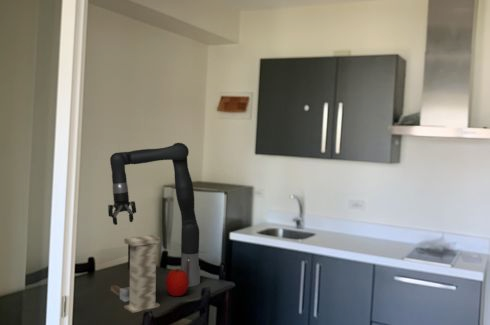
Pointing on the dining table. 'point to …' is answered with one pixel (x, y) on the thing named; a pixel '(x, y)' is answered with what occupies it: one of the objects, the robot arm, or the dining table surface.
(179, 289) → the tomato
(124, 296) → the mallet
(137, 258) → the birch plinth
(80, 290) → the dining table surface
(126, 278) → the dining table surface
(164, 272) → the dining table surface
